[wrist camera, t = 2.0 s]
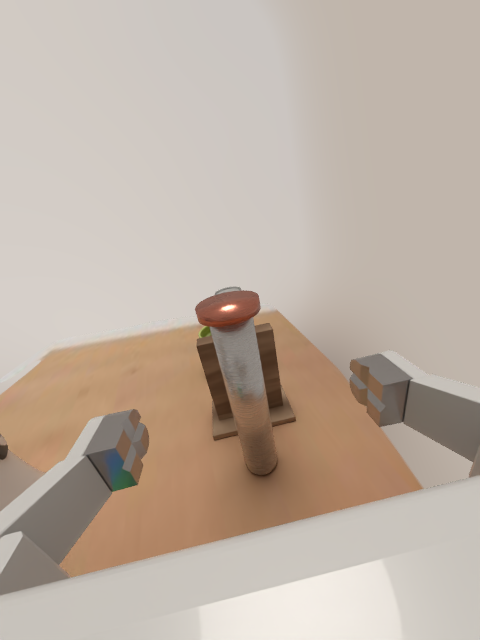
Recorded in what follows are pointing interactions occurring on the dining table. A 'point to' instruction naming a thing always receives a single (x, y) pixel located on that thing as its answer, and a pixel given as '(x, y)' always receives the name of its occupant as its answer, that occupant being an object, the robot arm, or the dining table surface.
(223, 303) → the copper-headed rod
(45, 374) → the dining table surface
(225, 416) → the eye board
